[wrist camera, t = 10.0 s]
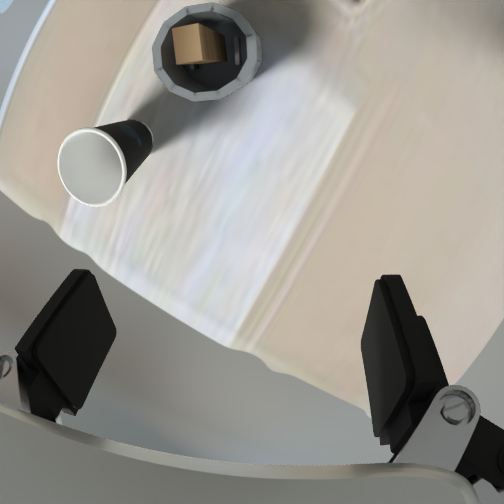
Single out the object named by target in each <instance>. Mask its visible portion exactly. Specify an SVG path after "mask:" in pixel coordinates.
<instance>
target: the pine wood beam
mask: <svg viewBox="0 0 504 504" xmlns="http://www.w3.org/2000/svg"><path fill="white" fill-rule="evenodd" d="M172 33H173V41H174V49H175V57H176V65H177V64H213V63H220V62H228V60H227V51H226V43H225V36H224V35H222V34H220V33H218V32H216V31H214V30H212V29H210V28H208V27H205V26H203V25H201V24H199V23H196V24H191V25H186V26H181V27H176V28H172Z"/></svg>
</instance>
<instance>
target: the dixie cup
mask: <svg viewBox="0 0 504 504" xmlns="http://www.w3.org/2000/svg"><path fill="white" fill-rule="evenodd" d="M153 142H154V138H153V134H152V131H151V129H150V128H149V127H148V126H147V125H146V124H145V123H143V122H141V121H137V120H126V121H121V122H117V123H112V124H108V125H103V126H99V127H95V128H90V127H86V128H80V129H77V130H75V131H73V132H72V133H71V134H69V135H68V136H67V137H66V139H65V140H64V141H63V143H62V145H61V147H60V150H59V154H58V171H59V175H60V178H61V181H62V183H63V185H64V187H65V188H66V190H67V191H68V192H69V193H70V195H71V196H73V197H74V198H75V199H76V200H78V201H79V202H81V203H83V204H85V205H88V206H93V207H100V206H105V205H108V204H110V203H112V202H113V201H114V200H116V199H117V198H118V196H119V195H120V194H121V192H122V190H123V188H124V185H125V183H126V182H127V181H128V180H129V178H130V177H131V176H132V175H133V174H134V172H135V171H136V170H137V169H138V167H139V166H140V165H141V164H142V163H143V161H144V160H145V159H146V158H147V157H148V155H149V154H150V152H151V150H152V146H153Z"/></svg>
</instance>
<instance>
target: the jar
mask: <svg viewBox="0 0 504 504" xmlns="http://www.w3.org/2000/svg"><path fill="white" fill-rule="evenodd" d="M196 23H199V24H201V25H203V26H205V27H208V28H210V29H212V30H214V31H216V32H218V33H220V34H222V35H224V36H225V43H226V51H227V60H228V62H220V63H213V64H177V65H176V57H175V49H174V41H173V33H172V28H176V27H181V26H186V25H191V24H196ZM152 52H153V63H154V71H155V73H156V74H157V76H158V77H159V78H160V80H161V81H162V82H163V84H164V85H165V86H166V88H167V89H168V91H170V92H172V93H174V94H176V95H179V96H181V97H184V98H186V99H188V100H190V101H193V102H195V101H205V100H217V99H222V98H224V97H225V96H227V95H229V94H231V93H233V92H235V91H236V90H238V89H239V88H241V87H243V86H244V85H246V84H247V83H249V82H251V81H252V79H253V77H254V76H255V74H256V73H257V71H258V69H259V67H260V65H261V63H262V62H261V61H262V46H261V39H260V38H259V36H258V35H257V34H256V32H255V31H254V30H253V28H252V27H251V25H250V24H249V23H248V22H247V20H246V19H245V18H244V17H243V16H242V15H241V13H240V12H238V11H235V10H233V9H230V8H227V7H225V6H222V5H219V4H217V3H205V4H198V5H192V6H186V7H184V8H183V9H181V10H180V11H179V12H177V13H176V14H174V15H173V16H172V17H170V18H169V19H168V20H166V21H165V22H164V23H163V24H162V27H161V29H160V31H159V33H158V35H157V37H156V39H155V41H154V43H153V47H152Z"/></svg>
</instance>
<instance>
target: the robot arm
mask: <svg viewBox="0 0 504 504" xmlns="http://www.w3.org/2000/svg"><path fill="white" fill-rule="evenodd" d="M115 337H116V327H115V325H114V323H113V320H112V318H111V316H110V313H109V311H108V309H107V306H106V304H105V301H104V299H103V296H102V294H101V291H100V289H99V286H98V284H97V281H96V278H95V276H94V275H93V274H91V272H90V271H89V270H85V269H74V270H73V271H72V272H71V273H70V274H69V275H68V276H67V278H66V279H65V280H64V281H63V283H62V284H61V285H60V287H59V288H58V289H57V291H56V292H55V293H54V294H53V296H52V297H51V298H50V300H49V301H48V302H47V304H46V305H45V306H44V307H43V309H42V310H41V312H40V313H39V314H38V316H37V317H36V318H35V320H34V321H33V323H32V324H31V325H30V327H29V328H28V330H27V331H26V333H25V334H24V335H23V337H22V338H21V340H20V341H19V343H18V344H17V346H16V347H15V350H16V352H17V353H18V354H19V355H18V356H17V358H16V357H15V355H14V354H13V353H11V352H3V353H0V504H504V430H503V429H502V428H500V427H498V426H497V425H495V424H493V423H492V422H490V421H489V420H487V419H485V418H483V417H482V416H480V411H481V410H480V403H479V401H478V399H477V397H476V396H475V394H474V393H473V392H472V391H471V390H469V389H467V388H466V387H463V386H460V385H450V386H449V384H448V381H447V378H446V375H445V372H444V369H443V366H442V363H441V360H440V357H439V355H438V352H437V349H436V346H435V344H434V341H433V338H432V336H431V333H430V330H429V328H428V325H427V323H426V320H425V319H424V317H423V316H417V314H416V311H415V309H414V306H413V304H412V301H411V299H410V296H409V294H408V291H407V289H406V287H405V284H404V282H403V280H402V277H401V276H400V275H382V276H381V279H378V280H376V281H375V283H374V288H373V293H372V297H371V302H370V306H369V310H368V315H367V319H366V323H365V327H364V331H363V335H362V339H361V351H362V357H363V363H364V369H365V375H366V381H367V388H368V395H369V402H370V409H371V416H372V424H373V432H374V436H375V437H380V445H388V444H390V449H391V452H392V453H394V454H393V455H392V457H391V458H390V460H389V461H388V462H387V463H375V464H353V465H352V464H351V465H327V466H325V465H324V466H297V465H296V466H294V465H264V464H248V463H235V462H226V461H216V460H209V459H201V458H194V457H188V456H181V455H175V454H170V453H164V452H159V451H154V450H149V449H145V448H140V447H136V446H131V445H127V444H124V443H119V442H116V441H112V440H108V439H105V438H101V437H98V436H94V435H91V434H87V433H84V432H81V431H78V430H75V429H72V428H69V427H66V426H63V425H62V421H61V418H60V414H59V413H60V411H61V410H62V411H63V412H64V413H68V414H71V415H74V416H76V413H77V411H78V409H81V408H82V406H83V404H84V402H85V400H86V398H87V395H88V393H89V391H90V389H91V387H92V385H93V383H94V380H95V378H96V376H97V374H98V372H99V370H100V368H101V366H102V364H103V361H104V359H105V358H106V355H107V354H108V352H109V349H110V348H111V345H112V344H113V342H114V339H115Z"/></svg>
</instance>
